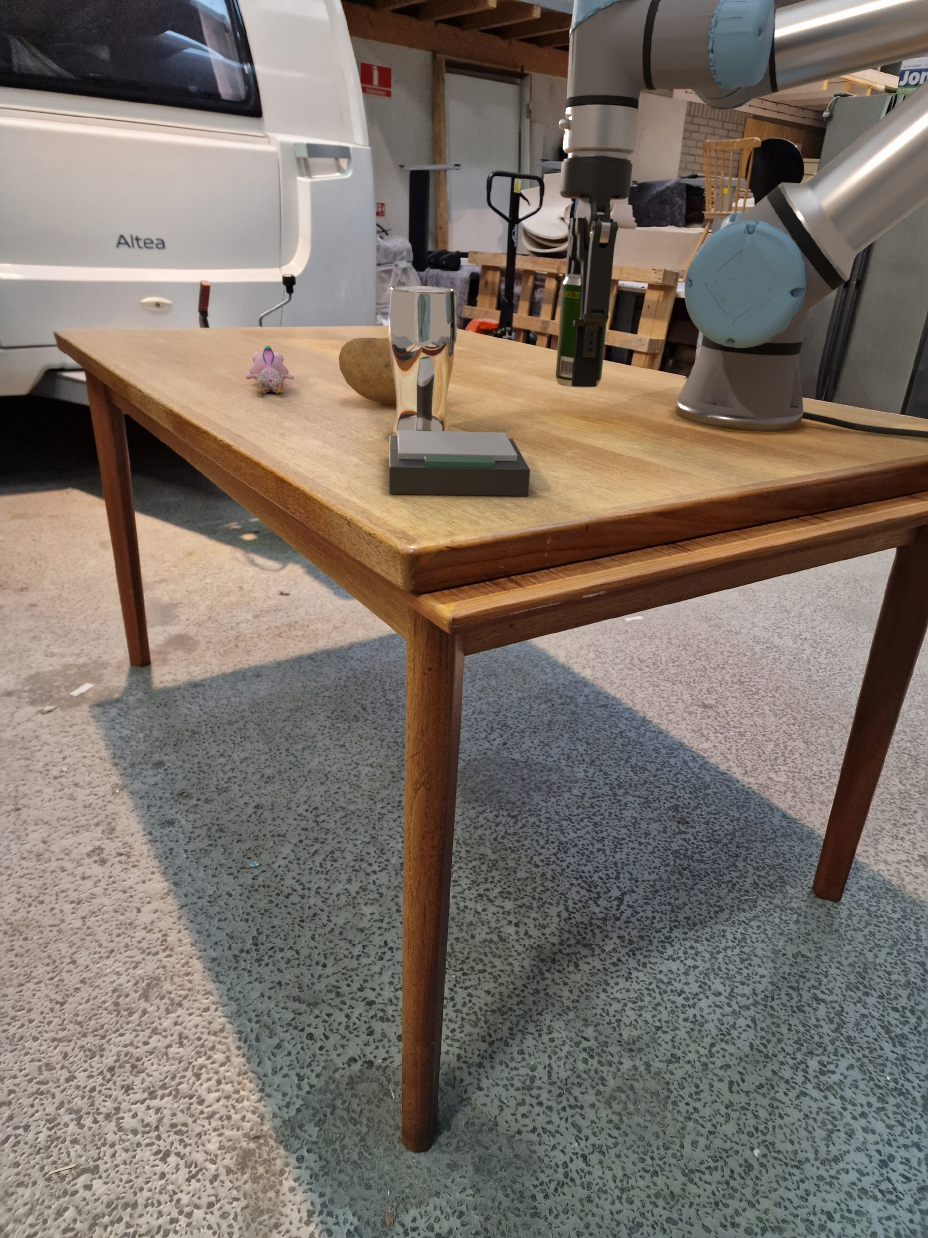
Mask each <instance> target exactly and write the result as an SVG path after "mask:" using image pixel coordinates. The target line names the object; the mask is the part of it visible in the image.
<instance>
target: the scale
mask: <svg viewBox="0 0 928 1238" xmlns="http://www.w3.org/2000/svg"><path fill="white" fill-rule="evenodd" d="M388 475H389V476H388V480H389V481H388V493H389V494H390V495H419V496H420V495H421V496H422V495H423V496H424V495H425V496H426V495H427V496H428V495H429V496H440V495H441V496H485V497H486V496H491V497H493V496H494V497H499V496H500V497H528V496H529V490H530V489H529V488H530V477H531V469H530V467H529V465H528V464H527V462H526V459H525V458H524V456H523V455H522V453H521V451H520V449H519V448H518V445H517V443H516V442H515V441H514V439H513V438H512V437H511V438H509V437H508V435H507V434H506V432H495V431H494V432H493V431H455V430H454V431H453V430H452V431H451V430H448V431H411V430H398V436H392V435H389V436H388Z"/></svg>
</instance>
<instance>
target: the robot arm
mask: <svg viewBox="0 0 928 1238" xmlns="http://www.w3.org/2000/svg"><path fill="white" fill-rule="evenodd" d="M568 38H569V47H568V48H569V49H568V67H567V87H566V101H565V115H564V116H565V118H560V120H559V122H558V125H559V126H558V128H559V129H560V130H564V134H563V142H562V143H563V145H562V150H563V152H564V153H565V154H567V158H564V159H563V161H562V162H561V163H560V165H561V167H560V178H559V179H560V180H559V195H560V197H561V198H563V199H571V200H572V199H573V200H575V199H576V200H577V205H576V211H575V217H571V218H570V221H569V222H568V224H567V230H568V231H567V251H566V253H567V254H566V263H565V274H566V273H576V274H581V286H580V318H579V320H574V321H573V326H576V336H575V348H574V360H573V372H572V384H571V386H573V387H572V388H580V387H586V388H596V387H597V386H596V380H597V370H598V359H599V349H600V338H601V328H602V326H603V323H606V322H607V323H608V321H609V317H610V315H609V312H610V299H611V291H612V290H611V289H612V277H613V269H614V268H613V267H614V256H615V245H616V240H617V234H618V231H619V223H618V221H614V219H613V218H611V201H620V200H621V201H622V200H626V199H627V198H628V197H629V196H630V195H631V185H632V173H633V166H634V165H633V163H632V161H631V160H630V159H629V156H630V155H633V153H635V151H636V140H637V132H638V131H637V130H638V119H639V105H640V96H641V91H643V90H648V91H656V90H690V91H693V93H694V94H696V95H697V97H698V98H699V99H700V100H701V102H703V103H705V104H706V105H707V106H709V107H710V108H713V109H715V110H718V111H727V110H728V111H730V110H734V109H736V110H737V109H738V108H741V107H743V106H745V105H746V104H747V103H750V102H751V101H752V100H754V99H758V98H762V97H766V96H769V95H772V94H776V93H779V92H783V91H786V90H791V89H794V88H800V87H802V86H806V85H807V86H808V85H811V84H814V83H820V82H824V81H827V80H832V79H835V78H839V77H843V76H848V75H851V74H855V73H860V72H864V71H867V70H871V69H876V68H880V67H884V66H888V65H893V64H896V63H899V62H900V63H901V62H904V61H909V60H913V59H916V58H921V57H925V56H928V0H802V1H799V2H795V3H792V4H788V5H785V6H782V7H778V8H776V9H775V1H774V0H573V8H572V17H571V25H570V28H569V35H568ZM927 201H928V79H927V80H925V81H924V82H923V83H921V85H919V86H918V87H917V88H916V89H915V90H914V91H912V92H911V93H910V94H909V95H908V96H907V97H905V98H903V100H901V101H900V102H899V103H898V104H897V105H896V106H895V107H893V108H892V109H891V110H890V111H889V112H887V113H886V114H885V115H883V116H882V117H881V118H880V119H879V120H878V121H877V122H876V123H875V124H873V125H872V126H871V127H869V128H868V129H867V130H866V131H865V132H864V133H862V134H861V135H860V136H859V137H858V138H856V139H855V140H854V141H853V142H852V143H850V145H848V146H847V147H846V148H845V149H843V150H842V151H841V152H840V153H838V155H837V156H835V157H834V158H833V159H832V160H831V161H829V162H828V163H827V164H826V165H824V166H823V167H822V168H821V169H820V170H819V171H817V172H816V173H815V174H814V175H813V176H811V177H810V178H809V179H808V180H807V181H803V182H801V183H796V182H781V183H780V184H778V185H776V187H774V188H773V189H772V190H771V191H770V192H768V194H766V195H765V196H764V197H763V198H762V199H761V200H760V201H758V202H757V203H756V204H755V205H754V206H752V207H751V208H750V209H749V210H745V211H740V212H735V213H731V214H729V215H728V216H725V218H724V219H723V220H722V221H721V225H720V227H719V229H718V230H716V231H715V232H714V233H712V234H711V235H710V236H709V237H708V238H706V239H705V240H704V242H703V243H702V244H701V245H700V247H699V248H698V249H697V251H696V253H695V255H694V256H693V258H692V260H691V262H690V263H689V266H688V268H687V271H686V276H685V281H684V290H683V291H684V293H683V294H684V301H685V306H686V310H687V313H688V315H689V317H690V320H691V322H692V323H693V324H694V326H695V327H696V329H697V330H698V331H699V332H700V333H701V334H702V339H701V344H700V350H699V353H698V356H697V357H696V361H695V362H694V364H693V365H692V368H691V369H689V370H688V372H687V373H686V375H685V377H684V380H685V383H684V384H683V386H682V389H681V391H680V393H679V394H678V397H677V402H676V407H675V414H676V416H678V417H679V418H680V419H683V420H685V421H687V422H690V423H694V424H697V425H702V426H706V427H711V428H716V429H723V430H731V431H739V432H740V431H741V432H752V433H754V432H755V433H779V432H789V431H793V430H796V429H799V428H800V427H801V426H802V425H801V424H802V420H807V421H813V422H816V423H821V424H827V425H831V426H834V427H838V428H842V429H846V430H853V431H856V432H857V431H858V432H863V433H871V434H878V435H888V436H898V437H911V438H920V439H921V438H922V439H928V430H919V429H908V428H896V427H888V426H887V427H885V426H877V425H869V424H864V423H856V422H852V421H847V420H843V419H839V418H835V417H830V416H827V415H821V414H817V413H811V412H808V411H805V410H804V402H803V401H804V400H803V391H802V390H803V389H802V381H801V373H800V363H799V362H800V355H801V350H802V346H803V342H804V336H805V332H806V328H807V322H808V318H809V313H810V309H811V308H813V307H814V306H815V305H818V303H819V302H821V301H822V300H823V299H825V298H826V297H827V296H829V295H830V294H831V293H832V292H834V291H835V290H836V289H838V288H839V287H841V286H842V285H844V284H845V283H846V282H847V281H849V280H850V276H851V273H852V269H853V266H854V261H855V259H856V257H857V255H858V254H859V253H860V252H862V251H863V250H864V249H865V248H867V247H868V246H870V245H871V244H872V243H874V242H875V241H877V240H878V239H879V238H880V237H881V236H883V235H884V234H886V233H887V232H889V230H891V229H892V228H893V227H895V226H896V225H897V224H898V223H900V222H901V221H903V220H904V219H905V218H906V217H908V216H909V215H910V214H912V213H914V211H916V210H917V209H919V208H920V207H921V206H922V205H924V204H926V202H927ZM565 277H566V276H565V275H564V278H565Z"/></svg>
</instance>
